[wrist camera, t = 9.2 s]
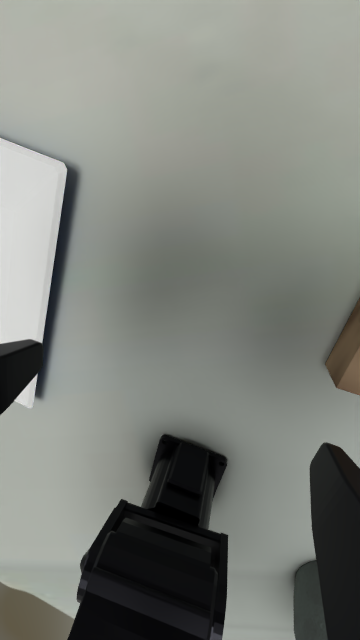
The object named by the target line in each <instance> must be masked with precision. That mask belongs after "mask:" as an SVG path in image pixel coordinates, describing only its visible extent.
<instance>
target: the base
mask: <svg viewBox="0 0 360 640" xmlns="http://www.w3.org/2000/svg"><path fill="white" fill-rule="evenodd" d="M325 365H326V367H327V369H328V371H329V374H330V376H331V378H332V380H333V382H334V384H335V386H336V388H339V389H342V390H345V391H348V392H351V393H354V394H357V395H360V298H359V300H358V302H357V304H356V306H355V308H354V310H353V312H352V314H351V316H350V318H349V319H348V321H347V323H346V325H345V327H344V329H343V331H342V333H341V335H340V337H339V339H338V341H337V342H336V344H335V346H334V348H333V350H332V352H331V354H330V356H329V358H328V360H327V362H326V364H325Z"/></svg>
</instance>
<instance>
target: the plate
mask: <svg viewBox="0 0 360 640" xmlns="http://www.w3.org/2000/svg"><path fill="white" fill-rule="evenodd" d="M66 176H67V168H66V166H65V164H64V163H63V162H60V161H58V160H55V159H53V158H50V157H48V156H45V155H43V154H40V153H37V152H35V151H32V150H30V149H27V148H25V147H22V146H20V145H17V144H14V143H12V142H9V141H7V140H4V139H2V138H0V344H2V343H8V342H14V341H20V340H26V339H32V340H35V341H38V342H41V343H42V341H43V334H44V327H45V320H46V313H47V306H48V299H49V292H50V286H51V279H52V272H53V265H54V258H55V251H56V244H57V237H58V231H59V224H60V217H61V210H62V203H63V196H64V189H65V182H66ZM37 375H38V374H37ZM37 375H36V376H35V377H34V378H33V380H32V381H31V382H30V383H29V384H28V385H27V386H26V388H25V389H24V390H23V391H22V392H21V393H20V395H19V396H18V397H17V398H16V399H15V400H14V401H15V402H18V403H20V404H22V405H24V406H26V407H28V408H33V403H34V396H35V389H36V382H37Z"/></svg>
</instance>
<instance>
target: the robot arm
mask: <svg viewBox="0 0 360 640" xmlns="http://www.w3.org/2000/svg"><path fill="white" fill-rule="evenodd" d="M42 365H43V344H42V343H41V342H38V341H35V340H32V339H26V340H20V341H14V342H8V343H2V344H0V415H1V414H2V413H3V412H4V411H5V410H6V409H7V408H8V407H9V406H10V405H11V404H12V403H13V401H14V400H15V399H16V398H17V397H18V396H19V395H20V393H21V392H22V391H23V390H24V389H25V388H26V386H27V385H28V384H29V383H30V382H31V381H32V380H33V378H34V377H35V376H36V375H37V374H38V373H39V371H40V370H41V368H42ZM164 440H165V441H164ZM226 466H227V459H226V458H225V457H223V456H221V455H218V454H215V453H213V452H210V451H207V450H205V449H202V448H199V447H197V446H194V445H191V444H189V443H186V442H183V441H181V440H178V439H175V438H173V437H170V436H167V435H163V436H161V438H160V441H159V445H158V449H157V452H156V456H155V460H154V464H153V467H152V471H151V475H150V479H149V481H150V485H149V487H148V490H147V493H146V495H145V498H144V500H143V503H142V506H141V507H139V506H136V505H134V504H131V503H128V501H126V500H123V499H121V500H120V502H119V504H118V505H117V507H116V508H114V510H113V511H112V513H111V515H110V516H109V518H108V519H107V521H106V523H105V524H104V526H103V528H102V529H101V531H100V533H99V534H98V536H97V538H96V539H95V541H94V542H93V544H92V546H91V547H90V549H89V550H88V551H87V552H86V553H85V555H84V556H83V558H82V560H81V563H80V568H81V573H82V575H81V579H80V583H79V587H78V592H77V602H79V603H80V606H79V609H78V612H77V615H76V617H75V620H74V623H73V626H72V629H71V632H70V634H69V637H68V639H67V640H222V635H223V628H224V620H225V611H226V599H227V563H228V535H227V534H224V533H221V534H219V533H216V532H213V531H210V530H208V528H209V521H210V514H211V507H212V500H213V497H214V494H215V492H216V490H217V487H218V485H219V483H220V480H221V478H222V476H223V473H224V471H225V469H226ZM310 492H311V519H312V531H313V539H314V546H315V553H316V560H317V568H318V575H319V582H320V589H321V596H322V603H323V610H324V618H325V625H326V632H327V639H328V640H360V468H359V467H358V466H357V465H356V464H355V463H354V462H353V461H352V460H351V459H350V457H349V456H348V455H347V454H346V453H345V452H344V451H343V450H342V449H341V448H340V447H338V446H336V445H333V444H330V443H323V444H322V445H321V446H320V448H319V450H318V451H317V453H316V455H315V456H314V458H313V460H312V462H311V464H310Z"/></svg>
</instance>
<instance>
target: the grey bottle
mask: <svg viewBox="0 0 360 640" xmlns="http://www.w3.org/2000/svg"><path fill="white" fill-rule="evenodd" d="M294 633H295V638H296V640H328V639H327V632H326V625H325V618H324V610H323V603H322V596H321V589H320V582H319V575H318V568H317V561H312V562H309V563H307V564H305V565H303V566H301V568H300V569H299V570H298V571H297V573H296V580H295V588H294Z"/></svg>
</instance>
